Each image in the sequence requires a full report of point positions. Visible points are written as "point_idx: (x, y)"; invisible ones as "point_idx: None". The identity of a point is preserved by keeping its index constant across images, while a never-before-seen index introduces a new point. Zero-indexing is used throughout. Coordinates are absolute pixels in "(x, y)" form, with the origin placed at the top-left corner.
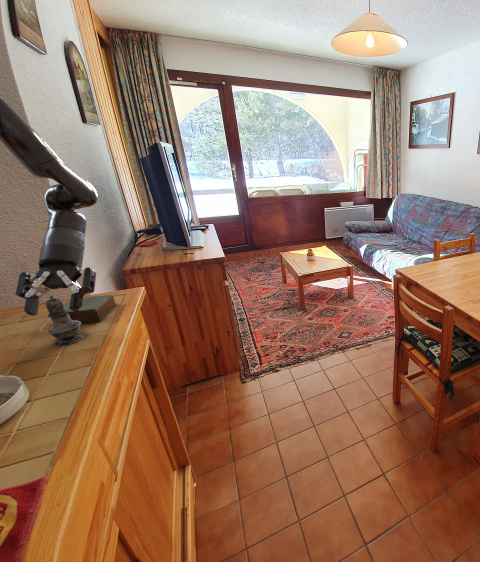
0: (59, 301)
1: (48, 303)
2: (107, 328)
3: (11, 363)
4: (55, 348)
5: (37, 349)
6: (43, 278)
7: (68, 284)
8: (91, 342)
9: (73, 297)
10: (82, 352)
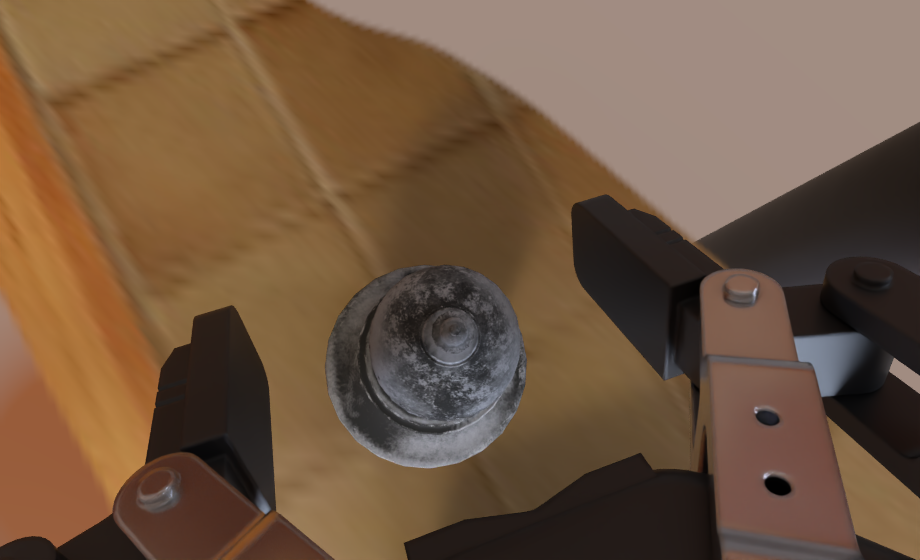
0: (369, 344)
1: (437, 267)
2: None
3: (530, 123)
4: (422, 264)
5: (523, 251)
6: (770, 534)
7: (248, 534)
8: None
9: (195, 400)
10: (208, 225)
